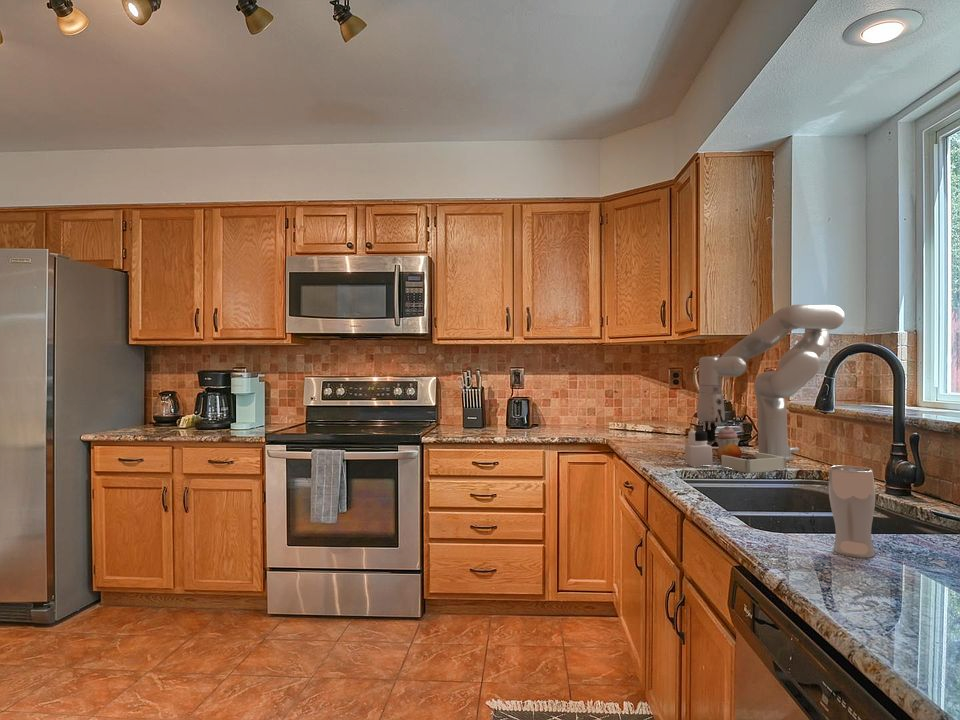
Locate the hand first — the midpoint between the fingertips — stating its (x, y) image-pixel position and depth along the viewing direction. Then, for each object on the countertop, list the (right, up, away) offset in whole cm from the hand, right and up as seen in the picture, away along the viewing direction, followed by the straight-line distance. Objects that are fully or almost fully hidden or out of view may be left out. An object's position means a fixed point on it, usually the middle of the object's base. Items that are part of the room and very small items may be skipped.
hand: (709, 440), depth 203 cm
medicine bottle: (-8, -7, -11) cm, 16 cm away
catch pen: (+6, -6, -20) cm, 21 cm away
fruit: (+3, -7, -8) cm, 11 cm away
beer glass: (-17, -5, -103) cm, 105 cm away
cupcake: (+16, -7, +21) cm, 28 cm away
